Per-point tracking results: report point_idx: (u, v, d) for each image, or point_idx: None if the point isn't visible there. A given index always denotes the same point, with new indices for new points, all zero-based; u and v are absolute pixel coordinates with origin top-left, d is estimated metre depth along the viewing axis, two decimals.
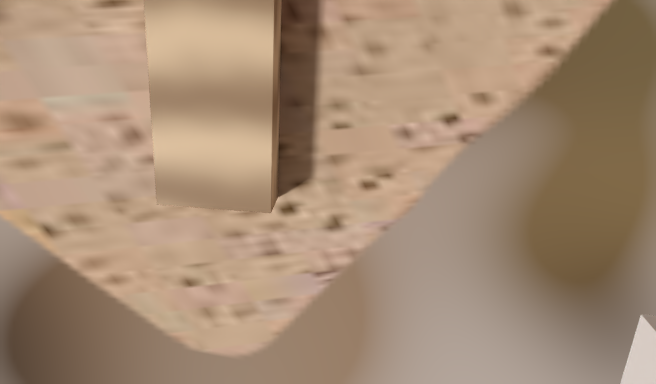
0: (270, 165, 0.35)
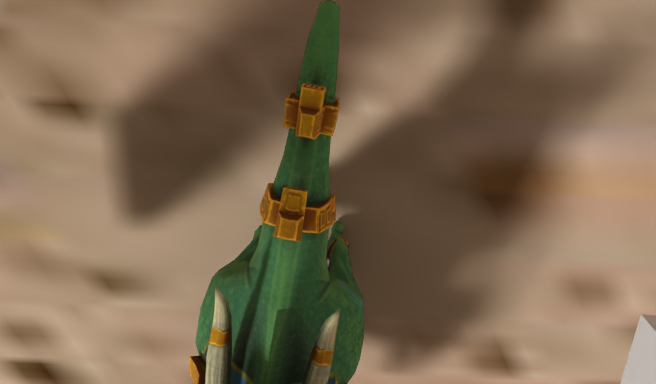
0: None
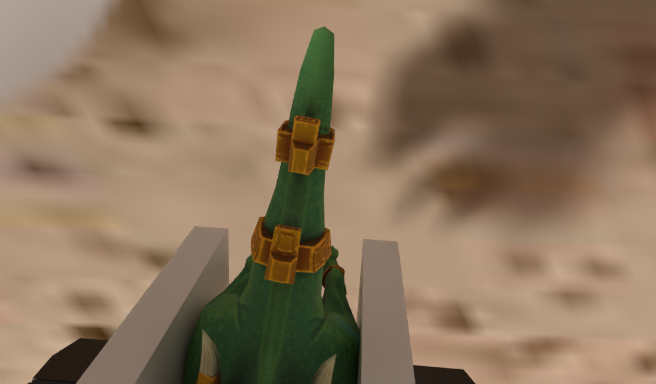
0: None
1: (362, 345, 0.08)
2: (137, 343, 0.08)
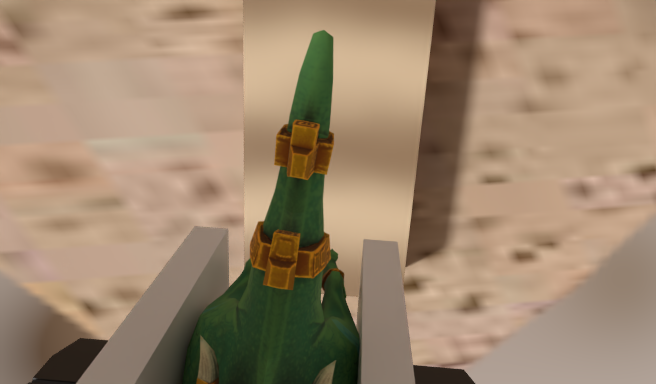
0: (407, 238, 0.26)
1: (362, 345, 0.08)
2: (137, 343, 0.08)
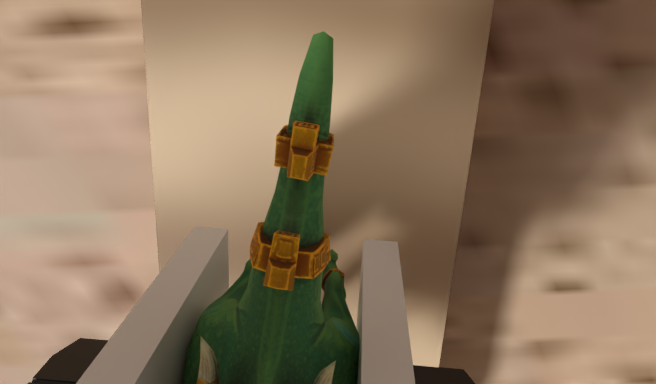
0: None
1: (362, 345, 0.08)
2: (137, 343, 0.08)
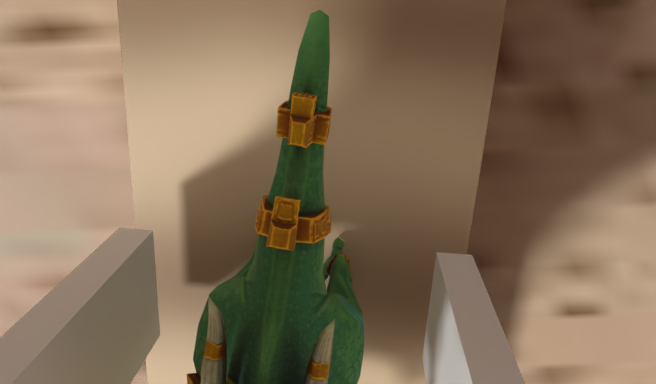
0: None
1: (469, 370, 0.08)
2: (19, 350, 0.08)
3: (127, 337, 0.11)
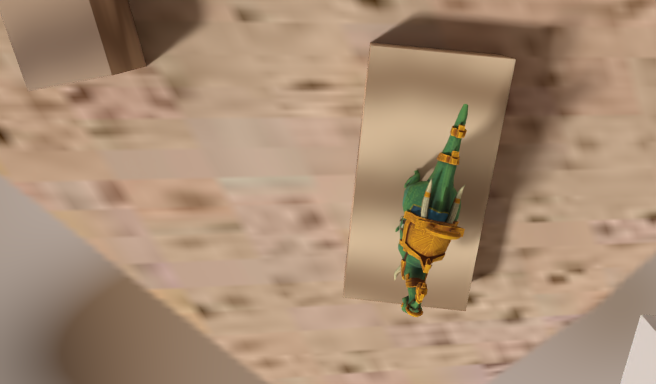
0: (473, 263, 0.33)
1: None
2: None
3: None
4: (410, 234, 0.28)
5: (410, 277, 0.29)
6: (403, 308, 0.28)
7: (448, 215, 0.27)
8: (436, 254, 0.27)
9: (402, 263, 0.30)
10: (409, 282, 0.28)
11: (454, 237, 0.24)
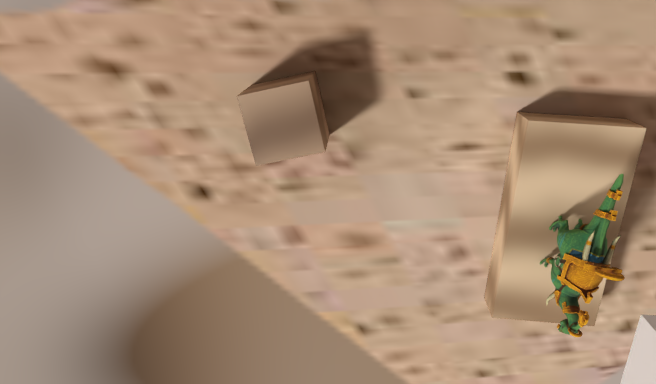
0: (603, 288, 0.41)
1: None
2: None
3: None
4: (570, 272, 0.35)
5: (568, 305, 0.36)
6: (563, 329, 0.36)
7: (604, 258, 0.34)
8: (593, 288, 0.35)
9: (557, 293, 0.37)
10: (567, 309, 0.36)
11: (621, 279, 0.32)
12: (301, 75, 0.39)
